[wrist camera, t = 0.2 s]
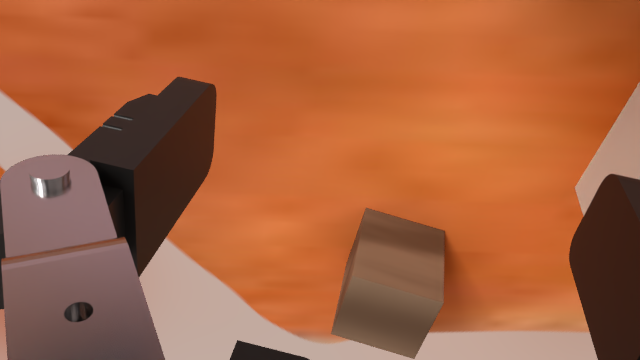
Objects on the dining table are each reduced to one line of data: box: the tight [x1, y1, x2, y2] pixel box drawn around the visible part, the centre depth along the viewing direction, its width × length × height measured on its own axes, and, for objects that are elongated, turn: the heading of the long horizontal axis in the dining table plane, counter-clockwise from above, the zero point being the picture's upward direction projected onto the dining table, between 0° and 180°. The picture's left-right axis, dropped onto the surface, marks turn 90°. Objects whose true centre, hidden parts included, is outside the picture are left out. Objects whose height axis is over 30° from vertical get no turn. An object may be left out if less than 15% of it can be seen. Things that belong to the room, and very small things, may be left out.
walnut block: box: [331, 208, 445, 359], centre depth 33 cm, size 5×5×6 cm
